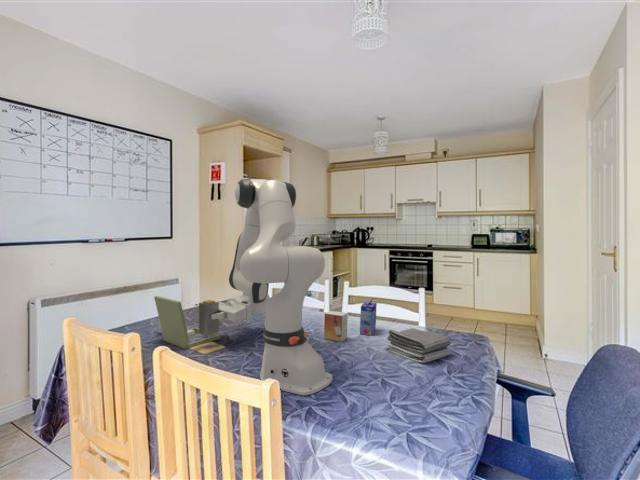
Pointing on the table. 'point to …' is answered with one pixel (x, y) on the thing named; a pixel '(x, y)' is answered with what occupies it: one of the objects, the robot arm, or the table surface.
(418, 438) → the table surface
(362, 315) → the juice box
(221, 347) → the pad
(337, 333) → the small box
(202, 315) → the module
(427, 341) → the towel
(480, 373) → the table surface
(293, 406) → the table surface
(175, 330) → the case
